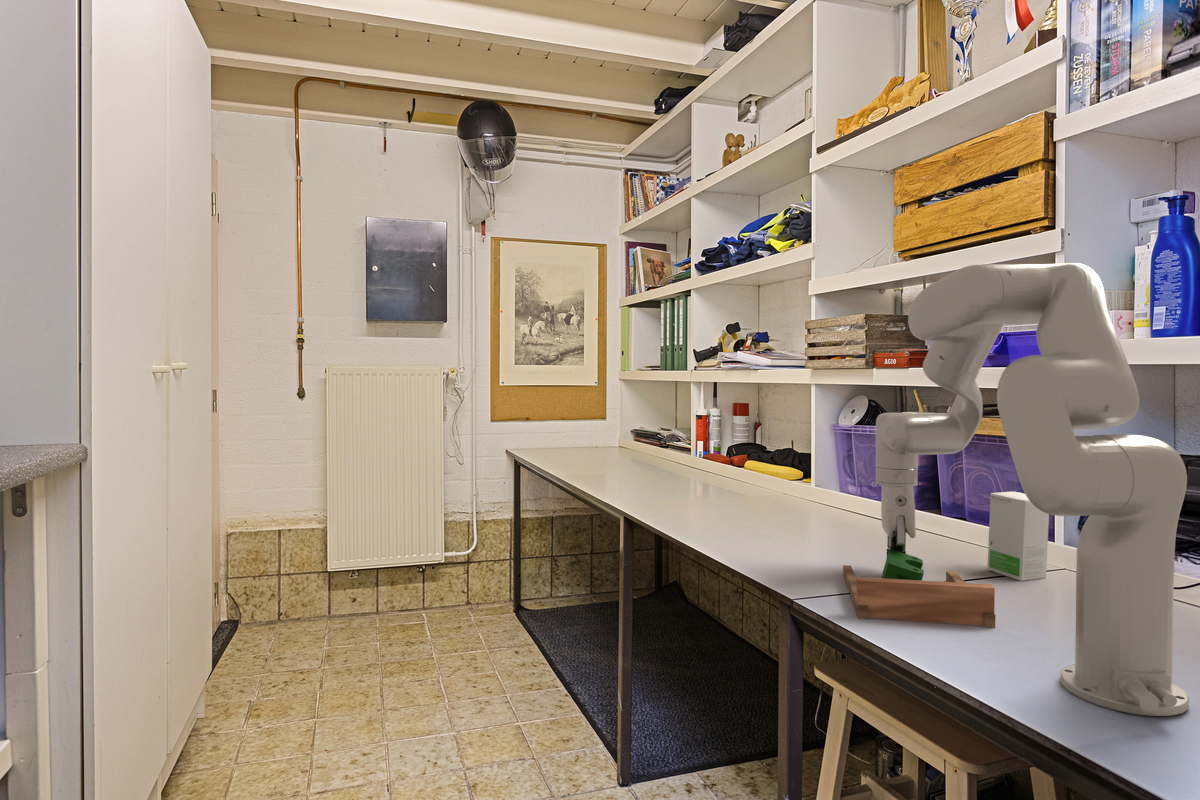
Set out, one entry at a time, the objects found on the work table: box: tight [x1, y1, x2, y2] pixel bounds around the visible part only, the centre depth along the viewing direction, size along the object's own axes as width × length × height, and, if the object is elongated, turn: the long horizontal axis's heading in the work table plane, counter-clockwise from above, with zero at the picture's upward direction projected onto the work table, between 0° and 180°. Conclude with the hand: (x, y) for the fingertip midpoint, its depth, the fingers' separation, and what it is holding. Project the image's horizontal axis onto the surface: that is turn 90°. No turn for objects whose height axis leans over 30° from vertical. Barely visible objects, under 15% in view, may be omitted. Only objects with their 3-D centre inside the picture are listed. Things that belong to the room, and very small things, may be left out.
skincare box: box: [986, 491, 1050, 582], centre depth 137 cm, size 8×7×16 cm
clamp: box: [881, 548, 925, 581], centre depth 130 cm, size 12×6×9 cm, turn 151°
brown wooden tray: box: [842, 564, 996, 628], centre depth 124 cm, size 25×20×6 cm
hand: (896, 570), depth 138 cm, fingers closed
